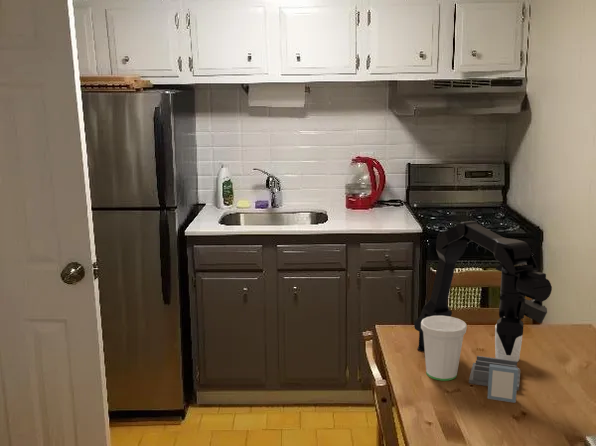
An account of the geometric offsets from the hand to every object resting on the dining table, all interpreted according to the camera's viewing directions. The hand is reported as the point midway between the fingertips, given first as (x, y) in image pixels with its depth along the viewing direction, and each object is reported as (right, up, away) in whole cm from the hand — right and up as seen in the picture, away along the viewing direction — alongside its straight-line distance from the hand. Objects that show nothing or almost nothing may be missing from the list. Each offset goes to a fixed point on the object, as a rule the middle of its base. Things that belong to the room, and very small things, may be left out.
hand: (509, 348), depth 167 cm
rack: (0, -11, +13) cm, 17 cm away
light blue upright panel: (-2, -13, +1) cm, 13 cm away
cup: (-14, -11, +15) cm, 23 cm away
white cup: (+8, -8, +25) cm, 28 cm away
